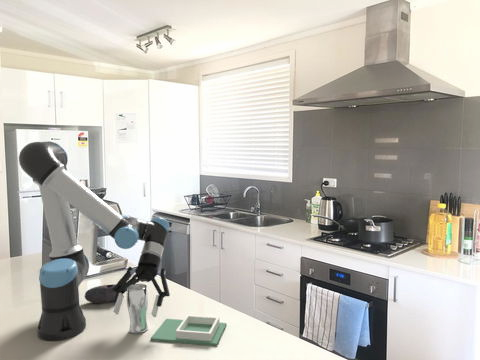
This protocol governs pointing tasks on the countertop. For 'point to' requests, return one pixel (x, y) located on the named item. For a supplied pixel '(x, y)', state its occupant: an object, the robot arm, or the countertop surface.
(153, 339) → the green board with frame
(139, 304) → the beer glass
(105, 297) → the perforated stone tool
